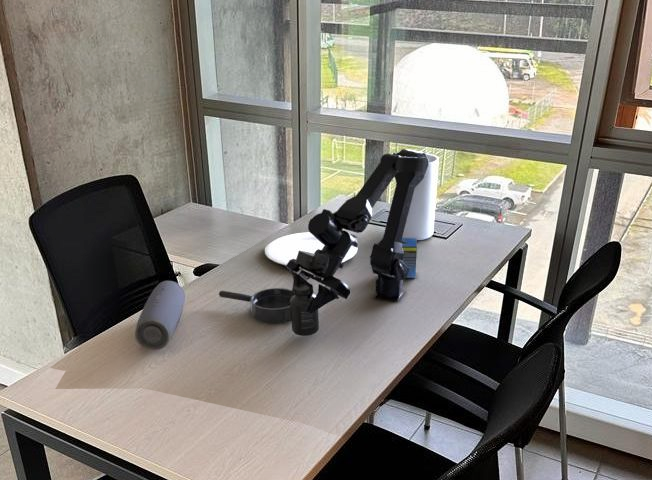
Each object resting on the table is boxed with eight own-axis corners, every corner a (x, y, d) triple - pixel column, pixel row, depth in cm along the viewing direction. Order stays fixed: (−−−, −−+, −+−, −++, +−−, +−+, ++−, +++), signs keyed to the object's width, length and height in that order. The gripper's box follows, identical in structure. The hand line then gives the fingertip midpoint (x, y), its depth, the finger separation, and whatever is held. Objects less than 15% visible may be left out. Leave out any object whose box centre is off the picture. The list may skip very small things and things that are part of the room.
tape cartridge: (415, 273, 212) (417, 233, 205) (415, 278, 209) (418, 238, 202) (384, 272, 213) (386, 233, 206) (384, 278, 209) (386, 238, 203)
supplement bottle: (322, 325, 181) (321, 282, 175) (314, 338, 176) (312, 294, 169) (296, 322, 183) (294, 279, 177) (287, 335, 178) (285, 290, 171)
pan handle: (256, 300, 194) (256, 294, 193) (253, 303, 193) (253, 297, 192) (221, 295, 198) (220, 289, 197) (217, 297, 196) (217, 291, 195)
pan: (307, 306, 195) (307, 291, 193) (288, 327, 185) (287, 312, 183) (264, 299, 200) (263, 285, 197) (243, 319, 190) (242, 305, 187)
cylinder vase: (391, 228, 244) (394, 154, 230) (427, 226, 245) (432, 152, 231) (399, 242, 233) (403, 164, 220) (437, 239, 234) (443, 162, 221)
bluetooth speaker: (155, 312, 194) (149, 278, 189) (189, 312, 194) (185, 278, 189) (135, 355, 175) (129, 318, 170) (173, 354, 175) (168, 317, 169)
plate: (373, 247, 230) (373, 241, 229) (327, 280, 209) (326, 274, 208) (297, 231, 244) (297, 226, 243) (246, 261, 223) (245, 255, 222)
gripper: (289, 227, 175) (256, 282, 175) (341, 248, 163) (305, 307, 163) (315, 249, 184) (283, 301, 184) (366, 270, 171) (331, 326, 171)
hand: (299, 308), depth 175 cm, fingers closed on supplement bottle, 7 cm apart
